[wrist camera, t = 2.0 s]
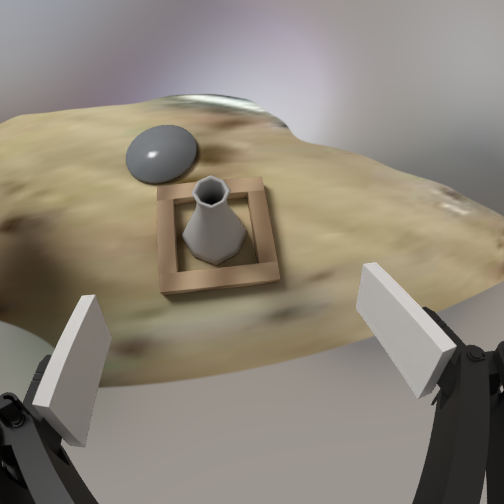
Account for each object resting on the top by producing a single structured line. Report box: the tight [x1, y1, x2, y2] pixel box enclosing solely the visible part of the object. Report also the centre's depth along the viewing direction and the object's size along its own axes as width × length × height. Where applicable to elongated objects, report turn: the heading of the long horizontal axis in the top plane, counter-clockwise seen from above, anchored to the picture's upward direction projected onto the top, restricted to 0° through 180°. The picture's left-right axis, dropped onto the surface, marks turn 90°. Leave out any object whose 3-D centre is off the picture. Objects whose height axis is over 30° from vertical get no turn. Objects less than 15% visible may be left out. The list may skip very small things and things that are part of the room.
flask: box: [182, 175, 247, 265], centre depth 30 cm, size 7×7×10 cm
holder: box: [157, 177, 280, 295], centre depth 33 cm, size 13×13×2 cm
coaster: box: [126, 125, 197, 184], centre depth 37 cm, size 10×10×1 cm
